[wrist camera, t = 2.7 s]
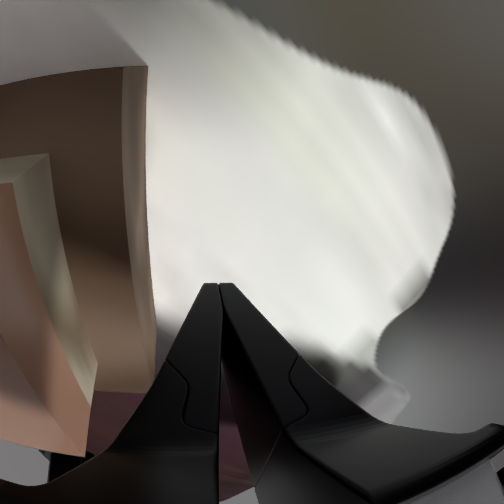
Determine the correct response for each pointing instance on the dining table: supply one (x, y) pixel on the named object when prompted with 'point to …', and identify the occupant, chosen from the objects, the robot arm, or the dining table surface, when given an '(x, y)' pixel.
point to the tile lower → (50, 260)
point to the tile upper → (33, 354)
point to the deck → (96, 204)
